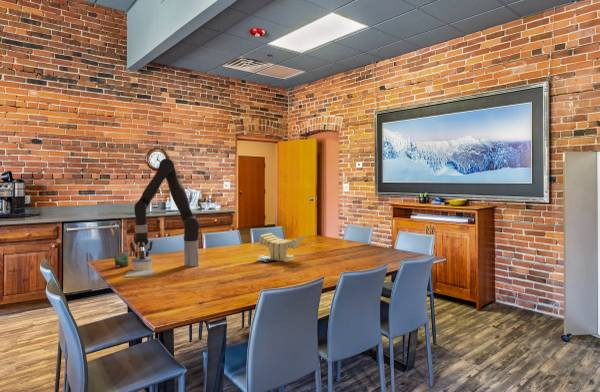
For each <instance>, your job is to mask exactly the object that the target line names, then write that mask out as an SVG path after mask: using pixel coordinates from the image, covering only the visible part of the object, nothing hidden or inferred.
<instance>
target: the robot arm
mask: <svg viewBox="0 0 600 392" xmlns="http://www.w3.org/2000/svg"><path fill="white" fill-rule="evenodd" d="M165 179H166V181H167V186H168V189H169V192H170V195H171V198H172V200H173V202H174V205H175V207H176V208H177V210H178V211H179V214H180V216H181V221H182V224H183V227H184V233H183V234H184V237H183V250H184V251H183V253H184V254H183V255H184V257H183V258H184V259H183V260H184V267H190V268H191V267H196V266H199V234H200V232H199V231H200V230H199V221H198V219H197V218H195V216H194V214H193V211H192V210H191V207H190V201H189V198H188V195H187V192H186V190H185V187H184V186H183V184H182V182H181V181H180V179H179V177H178V174H177V171H176V167H175V163H174V161H173V160H172V159H170V158H164V159H163V158H162V159H161V161H160V162H159V165H158V167H157V170H156V172H155V173H154V176H153V177H152V179H151V180H150V181H149V183H148V184H147V186H146V187H145V189H144V190H143V192H142V194H141V196H140V198H139V199H138V201H137V202H136V203H134V207H133V208H134V217H135V219H134V221H135V222H134V223H135V225H134V226H135V227H134V241H131V242H130V243H129V245H130V249H131V252H134V256H135V257H134V258H138V257H139V248H144V249H145V250H144V251H145V257H149V255H150V254H149V252H150V251H151V250H152V249H153V244H154V242H153V240H149V236H148V234H149V232H148V218H147V208H148V207H149V205H150V204H151V201H152V200H153V198H154V197H155V196H156V194H157V192H158V191H159V189H160V187H161V186H162V184H163V182H164V180H165ZM148 244H149V248H148ZM134 245H136V248H135V246H134Z"/></svg>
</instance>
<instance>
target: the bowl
mask: <svg viewBox="0 0 600 392" xmlns="http://www.w3.org/2000/svg"><path fill="white" fill-rule="evenodd" d="M147 270H152V260H151V261H147V262H132V271H147Z"/></svg>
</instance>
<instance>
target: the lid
mask: <svg viewBox="0 0 600 392" xmlns="http://www.w3.org/2000/svg"><path fill="white" fill-rule="evenodd" d="M152 260H153V257H152V256H148V257H146V252H145V250H138V258H136V257H133V258H131V262H132V263H133V262H147V261H151V262H152Z"/></svg>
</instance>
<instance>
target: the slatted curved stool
mask: <svg viewBox="0 0 600 392" xmlns="http://www.w3.org/2000/svg"><path fill="white" fill-rule="evenodd" d="M305 240H306V235H303V236H300V237H296V238H293V239H291V240H290V239H283V238H281V237H279V236H276V235H275V234H273V233H272V232H268V233H263V234H261V235H260V236H259V238H258V246H265V247H267V248H268V251H269V259H270V260H271V261H278V262H285V263H287V262H290V261H292V260H295V259H296V257H295V255H292V254H291V255H290V254H287V251H288V249H293V250H297V249H298V248H299V247H298V246H299V244H300V243H301V242H302V241H305Z"/></svg>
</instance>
